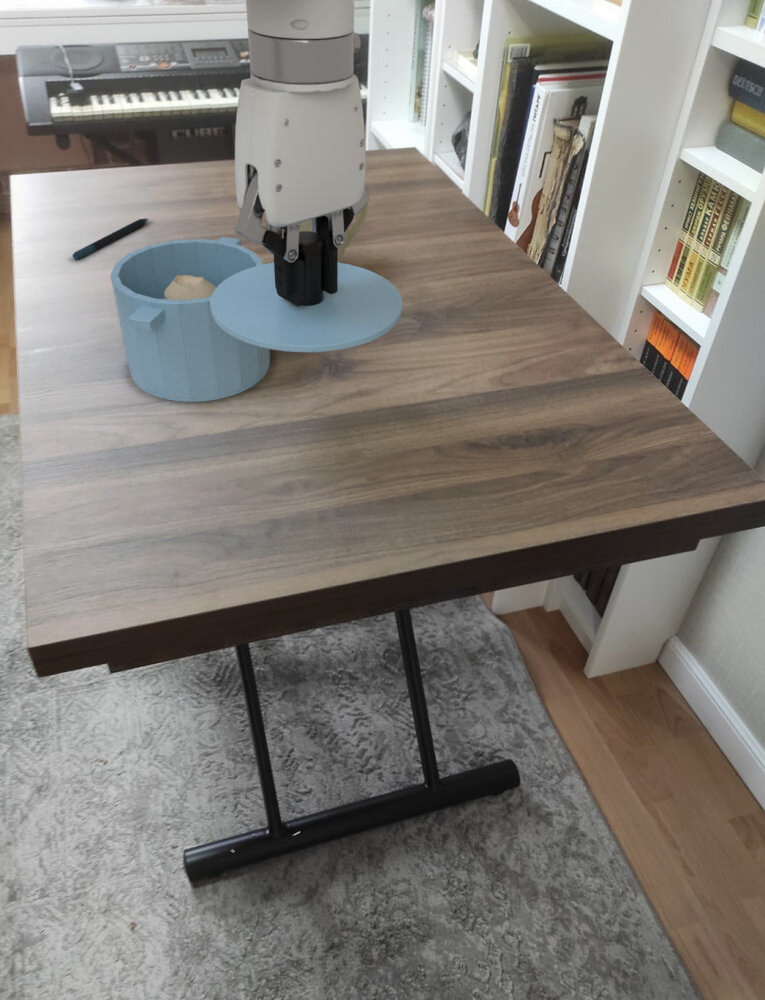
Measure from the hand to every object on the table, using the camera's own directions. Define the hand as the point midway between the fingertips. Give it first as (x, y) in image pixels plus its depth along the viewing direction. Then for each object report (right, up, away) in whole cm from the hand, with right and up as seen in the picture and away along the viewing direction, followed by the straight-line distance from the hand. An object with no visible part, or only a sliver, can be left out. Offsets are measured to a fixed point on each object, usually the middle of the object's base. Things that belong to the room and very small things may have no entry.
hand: (307, 292), depth 72 cm
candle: (-14, -2, +23) cm, 27 cm away
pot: (-14, -2, +23) cm, 27 cm away
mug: (-2, +13, +42) cm, 44 cm away
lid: (0, -1, +1) cm, 1 cm away
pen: (-32, +19, +49) cm, 62 cm away
